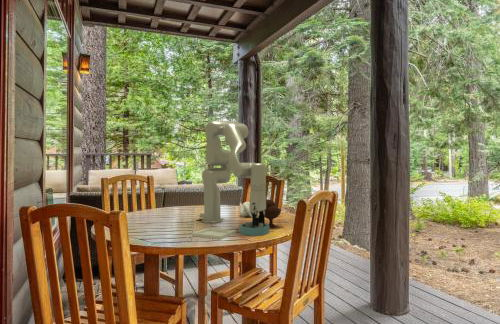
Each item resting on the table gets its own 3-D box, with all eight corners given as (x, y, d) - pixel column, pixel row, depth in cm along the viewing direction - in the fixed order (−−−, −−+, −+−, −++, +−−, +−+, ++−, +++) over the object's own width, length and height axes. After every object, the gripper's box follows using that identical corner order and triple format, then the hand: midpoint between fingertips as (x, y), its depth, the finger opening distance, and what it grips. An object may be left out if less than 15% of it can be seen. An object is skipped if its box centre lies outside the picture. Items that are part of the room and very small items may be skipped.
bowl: (235, 234, 175) (234, 226, 175) (248, 229, 188) (248, 221, 188) (260, 237, 169) (260, 229, 169) (272, 231, 181) (272, 223, 181)
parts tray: (192, 237, 171) (192, 233, 171) (209, 231, 184) (209, 227, 184) (220, 240, 164) (220, 236, 164) (236, 234, 176) (236, 230, 176)
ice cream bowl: (280, 229, 187) (279, 200, 187) (259, 228, 190) (258, 200, 189) (282, 225, 198) (282, 198, 197) (262, 224, 200) (262, 197, 200)
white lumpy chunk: (253, 214, 236) (253, 200, 236) (262, 216, 225) (262, 202, 225) (238, 215, 231) (237, 201, 230) (246, 218, 220) (246, 204, 220)
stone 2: (252, 232, 176) (252, 223, 176) (256, 230, 180) (256, 222, 180) (260, 233, 174) (260, 224, 174) (264, 231, 178) (264, 222, 178)
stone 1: (243, 231, 178) (243, 222, 178) (247, 230, 182) (247, 221, 182) (251, 232, 176) (251, 223, 176) (255, 230, 180) (255, 221, 180)
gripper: (259, 186, 186) (259, 220, 186) (243, 189, 171) (243, 227, 171) (272, 186, 182) (272, 222, 183) (257, 190, 167) (257, 228, 168)
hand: (258, 224), depth 177 cm, fingers open, 6 cm apart
